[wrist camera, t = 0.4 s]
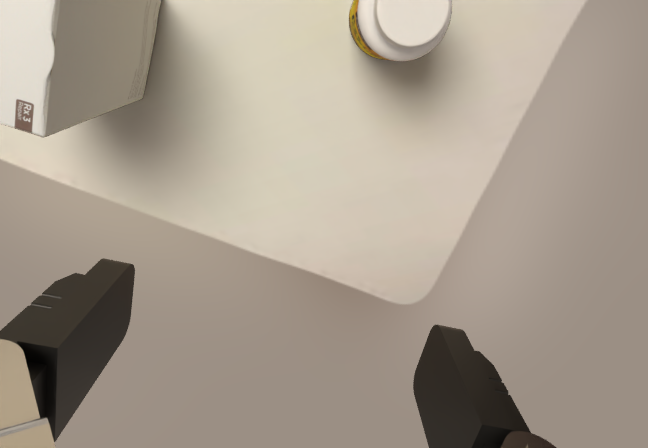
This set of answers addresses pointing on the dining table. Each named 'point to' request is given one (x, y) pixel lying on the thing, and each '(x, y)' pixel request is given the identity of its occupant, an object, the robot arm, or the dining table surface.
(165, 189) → the dining table surface
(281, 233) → the dining table surface
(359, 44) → the supplement bottle
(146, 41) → the skincare box
